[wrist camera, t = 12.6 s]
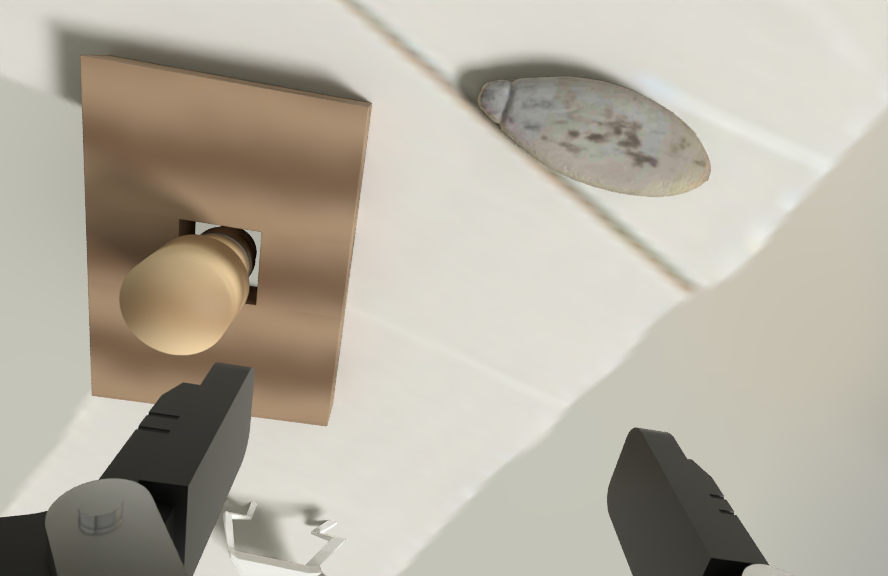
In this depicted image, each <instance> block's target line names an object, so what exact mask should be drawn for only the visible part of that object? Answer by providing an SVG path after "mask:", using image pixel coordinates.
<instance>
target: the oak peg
mask: <svg viewBox="0 0 888 576" xmlns="http://www.w3.org/2000/svg"><path fill="white" fill-rule="evenodd" d="M256 254H257V251H256V245H255V242H254V240H253V239H252V237H251V236H250V235H249V234H248V233H247V232H246V231H244V230H243V229H240V228H234V227H227V226H221V227H215V228H211V229H208V230H206V231H205V232H203V233H202V234H201V235H184V236H180V237H177V238H175V239H173V240H171V241H169V242H168V243H166V244H165V245H163V246H162V247H161V248H159V249H158V250H157V251H155V252H154V253H153V254H151V255H150V256H149V257H147V258H146V259H145V260H143V261H142V262H141V263H139V264H138V265H136V266H135V267H134V268H133V269H132V270H131V271H130V272H129V273H128V274H127V275H126V277H125V279H124V280H123V283H122V285H121V289H120V294H119V303H120V309H121V313H122V316H123V318H124V320H125V322H126V324H127V326H128V327H129V329H130V330H131V331H132V332H133V333H134V335H135V336H136V337H137V338H139V339H140V340H141V341H142V342H144V343H145V344H146V345H148V346H150V347H152V348H153V349H156V350H158V351H161V352H164V353H167V354H172V355H191V354H196V353H200V352H202V351H205V350H207V349H208V348H210V347H212V346H213V345H214V344H215V343H217V341H218V340H219V339H220V338H221V337H222V335H223V334H224V333H225V331H226V330H227V328H228V327H229V326H230V324H231V323H232V321H233V320H234V319H235V317H236V316H237V314H238V313H239V311H240V310H241V309H242V307H243V306H244V304H245V302H246V300H247V297H248V294H249V276H250V274H251V273H252V271H253V269H254V266H255V259H256Z"/></svg>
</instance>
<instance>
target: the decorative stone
mask: <svg viewBox="0 0 888 576" xmlns="http://www.w3.org/2000/svg"><path fill="white" fill-rule="evenodd" d="M477 103H478V106H479V108H480V109H481V110H482V111H483V112H484V113H485V114H486V115H487V116H488V117H489V118H490V119H491V120H492V121H493V122H495V123H499V124H500V127H501V130H502V131H503V132H505V133H506V134H507V135H508V136H509V137H510V138H512V139H513V140H514V141H515V142H516V143H518V144H519V145H520V146H521V147H522V148H523V149H524V150H525V151H526V152H527V153H529V154H530V155H532V156H533V157H534V158H535V159H537V160H538V161H540V162H541V163H542V164H544V165H545V166H547V167H548V168H550V169H552V170H554V171H556V172H558V173H560V174H562V175H565V176H567V177H569V178H571V179H573V180H576V181H579V182H582V183H585V184H588V185H591V186H594V187H597V188H601V189H605V190H608V191H612V192H617V193H623V194H629V195H636V196H647V197H664V196H674V195H678V194H682V193H686V192H689V191H691V190H693V189H695V188H697V187H699V186H701V185H702V184H703V183H704V182H706V181H708V178H709V175H710V172H711V165H710V161H709V158H708V155H707V153H706V151H705V149H704V147H703V145H702V143H701V142H700V140H699V138H697V136H696V134H695V132H694V131H693V130H692V129H691V128H690V127H689V126H687V124H686V123H685V122H684V121H682V120H681V119H680V118H679V117H677V116H676V115H675V114H674V113H673V112H671V111H669V110H668V109H666V108H665V107H663V106H661V105H660V104H658V103H656V102H654V101H653V100H651V99H649V98H647V97H645V96H643V95H641V94H639V93H637V92H635V91H633V90H630V89H627V88H624V87H621V86H618V85H615V84H611V83H608V82H604V81H600V80H593V79H588V78H580V77H570V76H557V77H534V78H533V77H531V78H520V79H516V80H515V81H513V82H510V81H508V80H496V81H492V82H487V83H485V84H484V85H483V87H482V88H481V90H480V93H479V95H478V99H477Z"/></svg>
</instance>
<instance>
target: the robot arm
mask: <svg viewBox="0 0 888 576" xmlns="http://www.w3.org/2000/svg"><path fill="white" fill-rule="evenodd" d="M254 377H255V373H254V368H252V367H246V366H239V365H233V364H226V363H220V362H216V363H215V364H214V365H213V366H212V368H211V369H210V371H209V372H208V374H207V375H206V377H205V379H204V380H203V382H202V383H201V385H198V384H191V383H184V382H183V383H181V384H179V385H178V386H176V387H174V388H173V389H171V390H169V391H168V392H166V393H164V394H163V395H161V397H160V398H159V399H158V401H157V402H156V403H155V405H154V406H153V407H152V409H151V410H150V411H149V415H146V417H145V418H144V419H143V421H142V422H141V423H140V425H139V428H138V430H137V429H136V430H135V431H134V433H133V434H132V436H131V437H130V438H129V440H128V441H127V442H126V444H125V445H124V446H123V448H122V449H121V450H120V452H119V453H118V454H117V456H116V457H115V458H114V460H113V461H112V462H111V464H110V465H109V466H108V468H107V469H106V470H105V472H104V473H103V475H102V476H101V477H100V479H99V480H95V481H91V482H87V483H84V484H81V485H79V486H77V487H74V488H72V489H71V490H69V491H67V492H66V493H64V494H63V495H61V496H60V497H59V498H58V499H57V500H56V501H55V502H54V503H53V504H52V505H51V507H50V508H49V510H48V511H45V512H41V513H35V514H29V515H20V516H10V517H0V576H193V574H194V572H195V569H196V567H197V565H198V562H199V560H200V558H201V556H202V553H203V551H204V549H205V546H206V544H207V542H208V539H209V537H210V535H211V533H212V530H213V528H214V526H215V523H216V521H217V519H218V516H219V514H220V512H221V510H222V507H223V505H224V503H225V500H226V498H227V496H228V493H229V491H230V489H231V487H232V484H233V482H234V480H235V477H236V475H237V473H238V470H239V468H240V466H241V463H242V461H243V458H244V455H245V451H246V447H247V443H248V438H249V431H250V421H251V410H252V399H253V388H254ZM607 505H608V512H609V515H610V518H611V520H612V523H613V526H614V528H615V531H616V534H617V536H618V539H619V541H620V544H621V546H622V549H623V552H624V554H625V557H626V559H627V562H628V564H629V567H630V570H631V572H632V575H633V576H793V575H792V574H790V573H788V572H786V571H784V570H782V569H779V568H777V567H773V566H770V565H769V564H768V563H767V561H766V560H765V558H764V556H763V555H762V553H761V552H760V550H759V549H758V547H757V546H756V544H755V543H754V541H753V540H752V538H751V537H750V535H749V533H748V532H747V531H746V529H745V528H744V526H743V524H742V523H741V521H740V520H739V518H738V517H737V515H734V511H733V509H732V508H731V506H730V505H729V503H728V502H727V500H724V495H723V494H722V493H721V491H720V489H719V488H718V486H717V485H716V484H715V482H714V480H713V479H712V477H711V476H710V475H708V474H707V473H706V472H705V471H704V470H703V469H702V468H700V466H698V465H697V464H696V463H695V462H694V461H693V460H690V459H687V458H686V457H685V455H684V453H683V452H682V450H681V448H680V447H679V445H678V444H677V442H676V440H675V439H674V437H673V436H672V435H671V434H670V433H668V432H661V431H655V430H648V429H642V428H633V429H632V430H631V431H630V432H629V434H628V436H627V438H626V441H625V444H624V446H623V449H622V452H621V454H620V457H619V459H618V462H617V465H616V468H615V470H614V473H613V476H612V478H611V481H610V484H609V488H608V494H607Z"/></svg>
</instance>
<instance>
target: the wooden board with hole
mask: <svg viewBox="0 0 888 576" xmlns="http://www.w3.org/2000/svg"><path fill="white" fill-rule="evenodd" d="M80 59H81V89H82V116H83V117H82V118H83V148H84V175H85V207H86V236H87V265H88V296H89V325H90V351H91V353H90V355H91V382H92V383H91V384H92V396H98V397H105V398H113V399H121V400H129V401H136V402H144V403H152V404H155V403H156V402H157V401H158V399H159V398H160V397H161V395H163V394H164V393H166V392H168V391H169V390H171V389H173V388H174V387H176V386H178V385H179V384H181V383H183V382H184V383H191V384H198V385H201V383H202V382H203V380H204V379H205V377H206V375H207V374H208V372H209V371H210V369H211V368H212V366H213V365H214V364H215V363H216V362H220V363H226V364H233V365H239V366H246V367H252V368H254V373H255V377H254V388H253V399H252V410H251V417H259V418H267V419H274V420H282V421H290V422H297V423H305V424H313V425H320V426H327V425H328V421H329V417H330V413H331V409H332V405H333V399H334V391H335V384H336V376H337V368H338V361H339V353H340V345H341V338H342V330H343V322H344V315H345V307H346V299H347V292H348V284H349V277H350V269H351V261H352V254H353V246H354V238H355V231H356V223H357V215H358V208H359V200H360V192H361V185H362V177H363V169H364V162H365V154H366V146H367V139H368V131H369V123H370V116H371V108H372V103H367V102H362V101H356V100H351V99H345V98H340V97H334V96H329V95H323V94H318V93H312V92H307V91H301V90H296V89H290V88H285V87H279V86H274V85H268V84H263V83H257V82H252V81H246V80H241V79H235V78H230V77H224V76H219V75H213V74H208V73H202V72H197V71H191V70H186V69H180V68H175V67H169V66H164V65H158V64H153V63H147V62H142V61H136V60H131V59H125V58H120V57H114V56H109V55H80ZM196 222H203V223H208V224H215V225H221V226H227V227H234V228H240V229H247V230H253V231H259V232H262V233H261V248H260V261H259V275H258V287H254V286H249V294H248V297H247V300H246V302H245V304H244V306H243V307H242V309H241V310H240V311H239V313H238V314H237V316H236V317H235V319H234V320H233V321H232V323H231V324H230V326H229V327H228V328H227V330H226V331H225V333H224V334H223V335H222V337H221V338H220V339H219V340H218V341H217V343H215V344H214V345H213V346H212V347H210V348H208V349H207V350H205V351H202V352H200V353H196V354H191V355H172V354H167V353H164V352H161V351H158V350H156V349H153V348H152V347H150V346H148V345H146V344H145V343H144V342H142V341H141V340H140V339H139V338H137V337H136V336H135V335H134V333H133V332H132V331H131V330H130V329H129V327H128V326H127V324H126V322H125V320H124V318H123V316H122V313H121V309H120V303H119V294H120V289H121V285H122V283H123V280H124V279H125V277H126V275H127V274H128V273H129V272H130V271H131V270H132V269H133V268H134V267H135V266H136V265H138V264H139V263H141V262H142V261H143V260H145V259H146V258H147V257H149V256H150V255H151V254H153V253H154V252H155V251H157V250H158V249H159V248H161V247H162V246H163V245H165V244H166V243H168V242H169V241H171V240H173V239H175V238H177V237H180V236H184V235H195V223H196Z"/></svg>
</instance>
